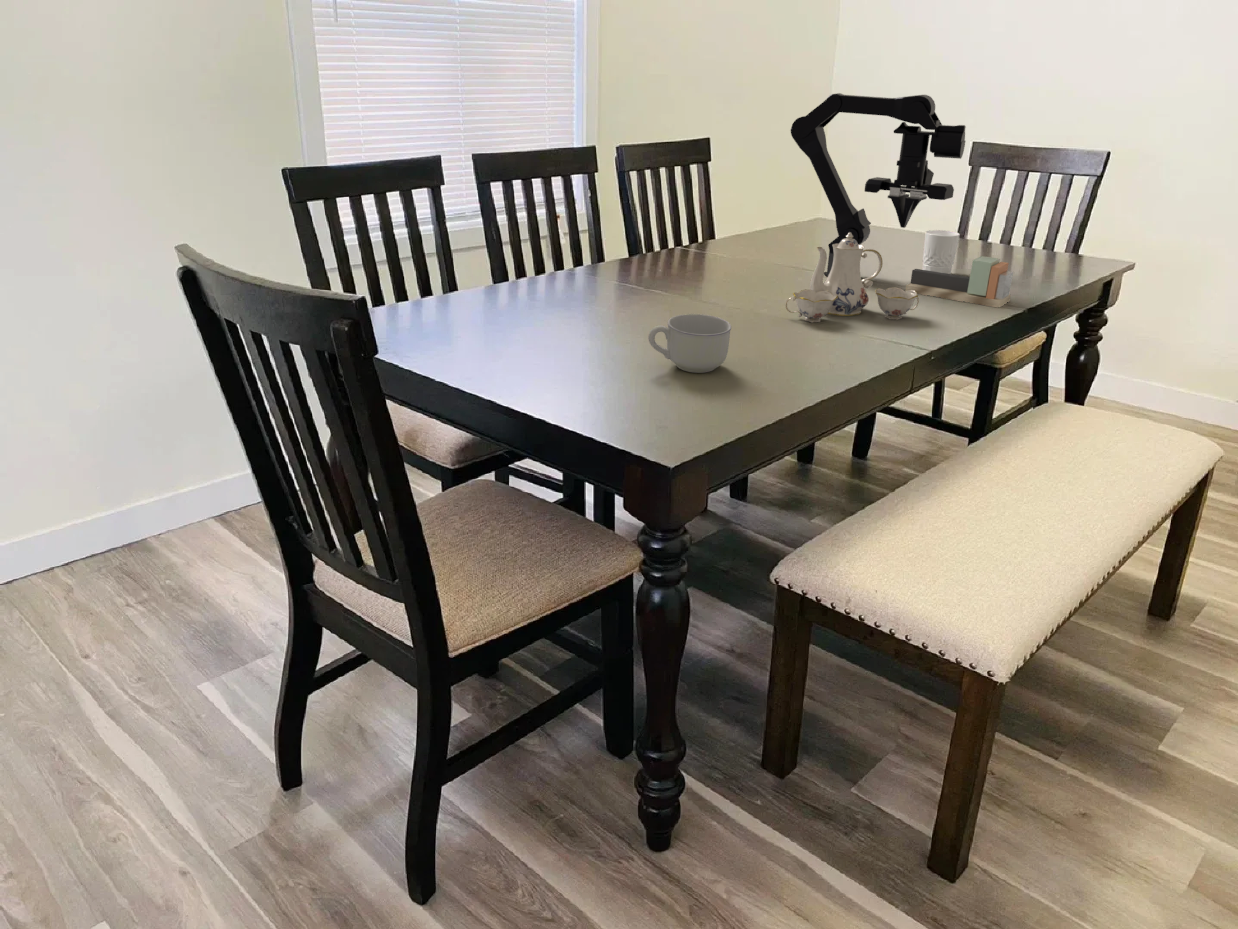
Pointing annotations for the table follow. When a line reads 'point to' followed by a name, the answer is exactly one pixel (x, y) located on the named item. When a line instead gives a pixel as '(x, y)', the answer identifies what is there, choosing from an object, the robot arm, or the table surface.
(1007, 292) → the connector
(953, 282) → the rail
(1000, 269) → the band
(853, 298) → the chinaware
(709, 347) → the teacup
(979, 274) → the sleeve
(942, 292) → the track board
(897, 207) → the robot arm
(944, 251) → the white cup
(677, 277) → the table surface
